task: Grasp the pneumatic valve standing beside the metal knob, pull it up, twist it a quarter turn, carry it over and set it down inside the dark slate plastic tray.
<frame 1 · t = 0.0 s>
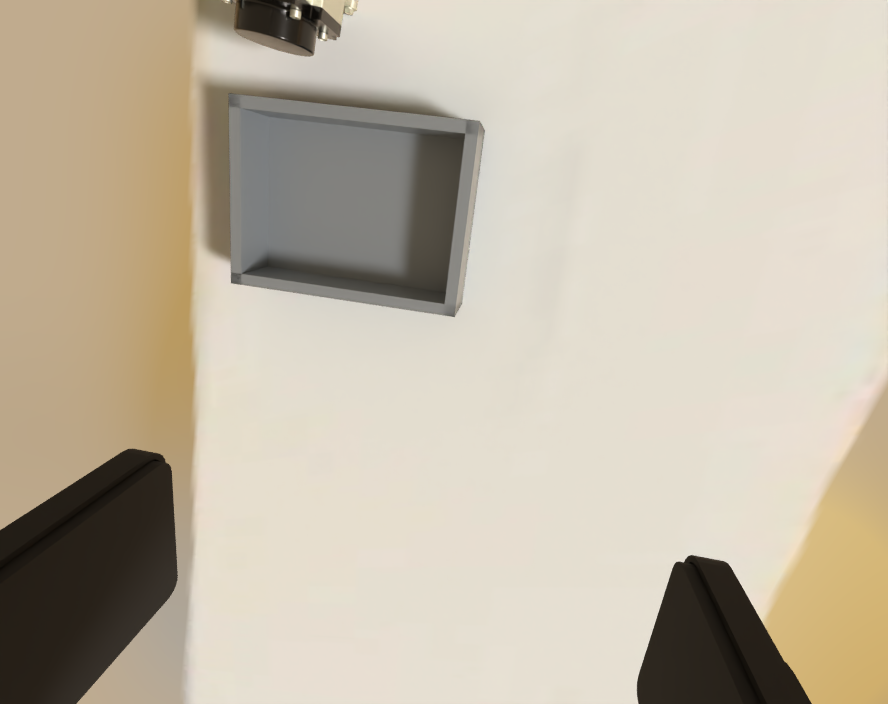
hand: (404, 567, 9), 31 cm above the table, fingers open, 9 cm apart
tray: (365, 207, 38), on the table
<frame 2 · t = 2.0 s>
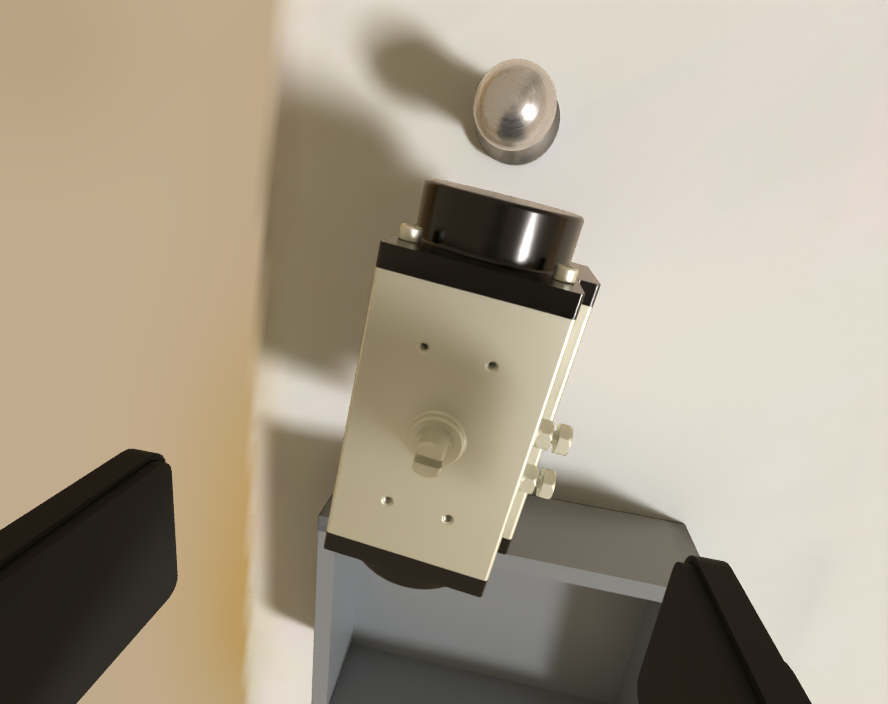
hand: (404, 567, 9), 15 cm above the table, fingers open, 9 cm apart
pneumatic valve: (487, 325, 23), on the table
metal knob: (517, 122, 20), on the table
tray: (494, 589, 27), on the table
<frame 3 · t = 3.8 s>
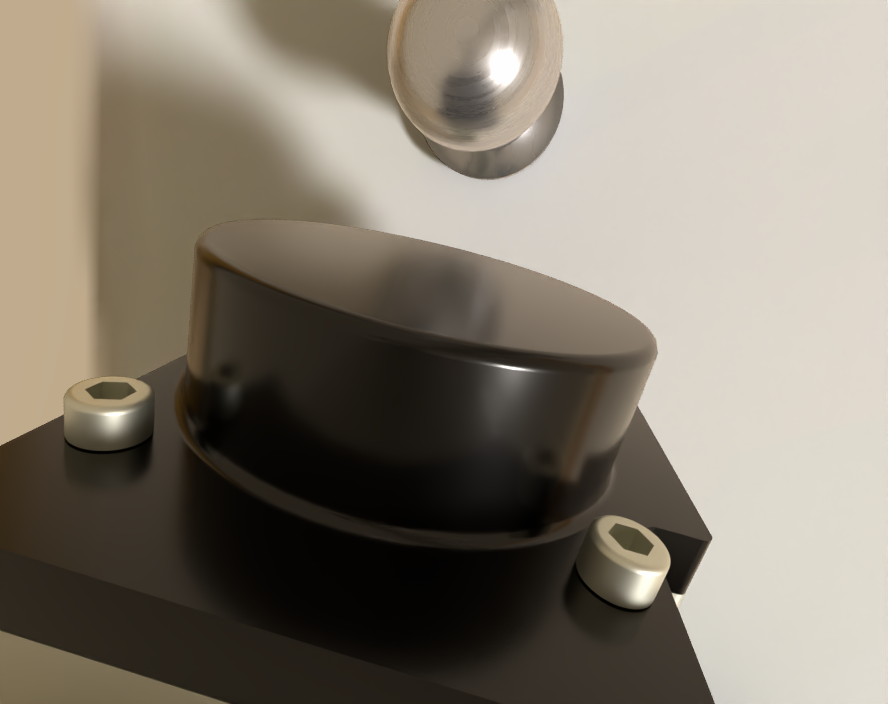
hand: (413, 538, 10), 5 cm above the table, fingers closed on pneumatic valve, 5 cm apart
pneumatic valve: (447, 432, 14), on the table, touching gripper
metal knob: (490, 106, 12), on the table
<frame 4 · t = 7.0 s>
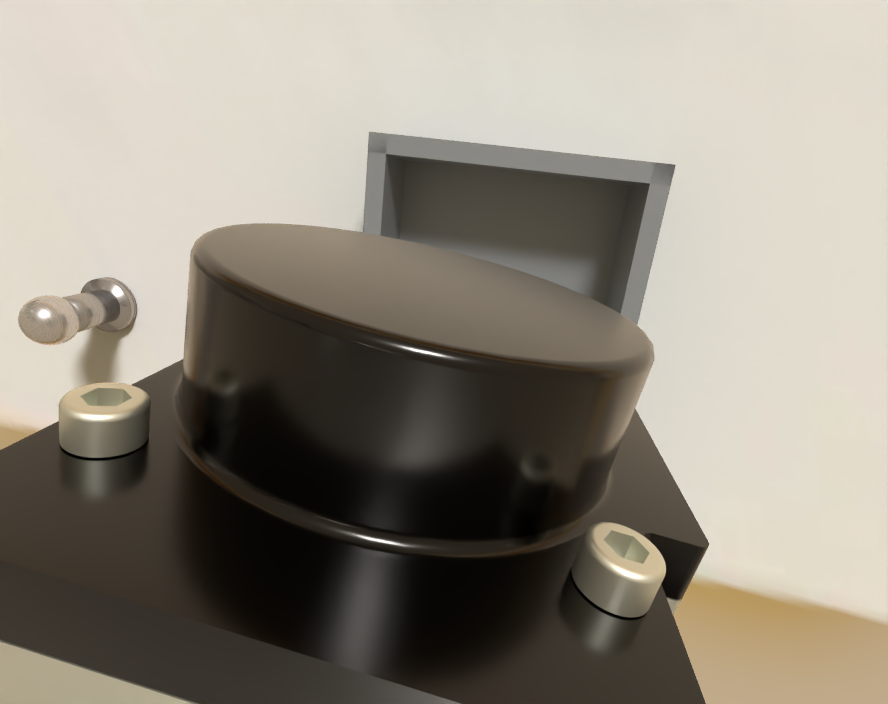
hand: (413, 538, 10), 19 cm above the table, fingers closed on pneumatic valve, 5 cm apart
pneumatic valve: (446, 433, 14), point 14 cm above the table, touching gripper
metal knob: (112, 303, 31), on the table
tray: (494, 317, 28), on the table
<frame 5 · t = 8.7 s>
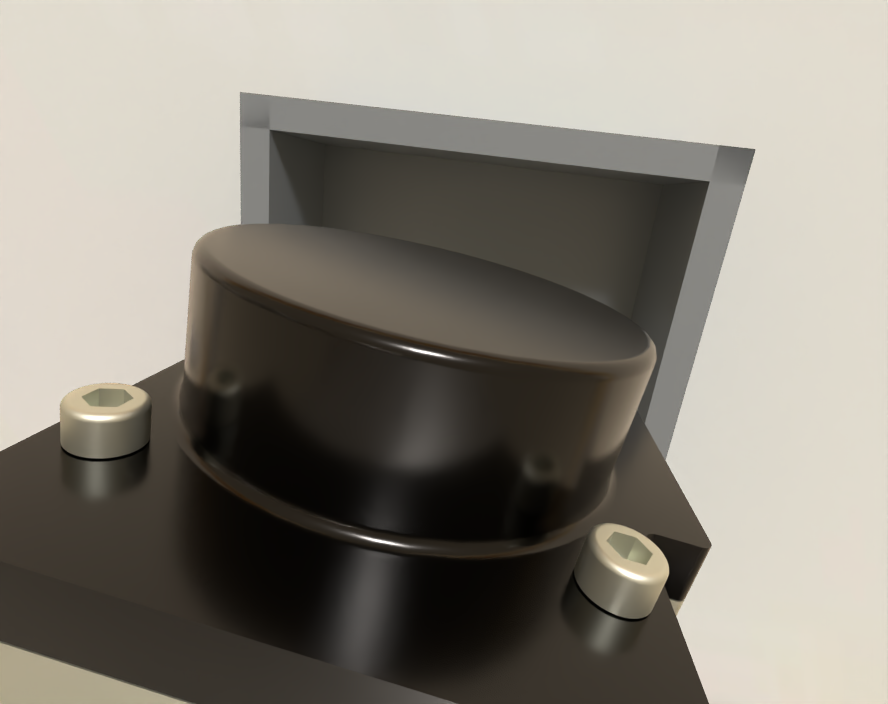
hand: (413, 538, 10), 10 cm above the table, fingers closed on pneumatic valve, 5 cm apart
pneumatic valve: (447, 433, 14), point 5 cm above the table, touching gripper
tray: (461, 373, 19), on the table
when the fingers open (6 cm above the table, at t = 10.2 s): pneumatic valve drops 1 cm, resting on tray.
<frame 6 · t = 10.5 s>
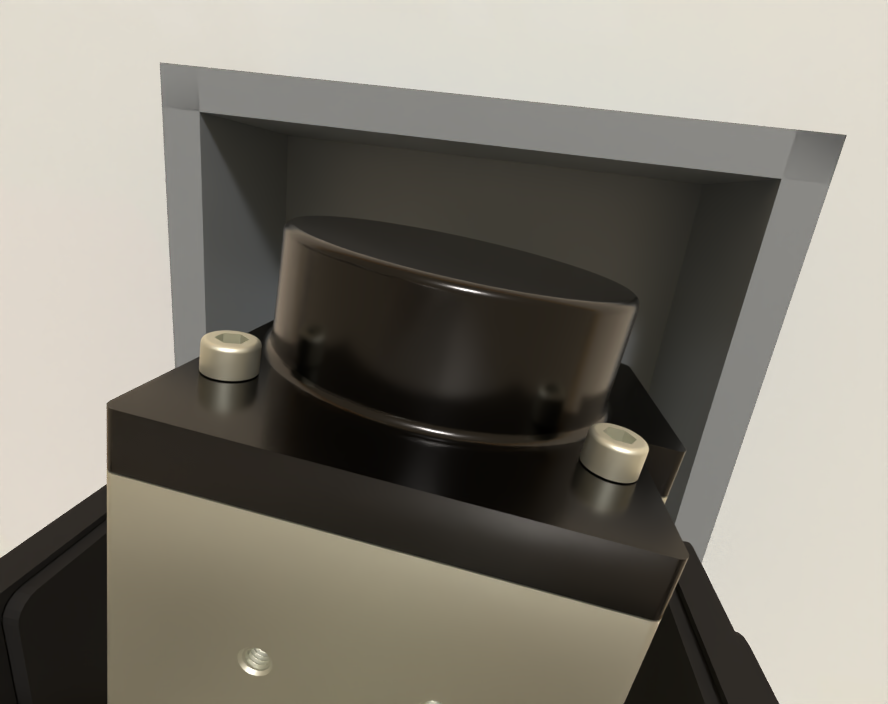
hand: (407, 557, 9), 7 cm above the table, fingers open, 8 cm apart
pneumatic valve: (461, 415, 16), resting on tray
tray: (454, 409, 16), on the table
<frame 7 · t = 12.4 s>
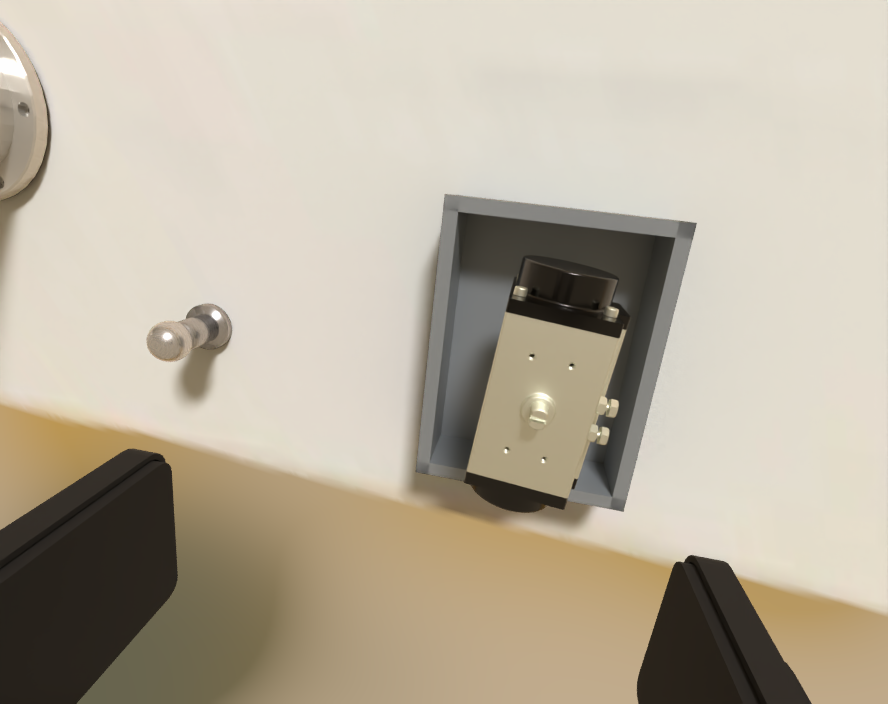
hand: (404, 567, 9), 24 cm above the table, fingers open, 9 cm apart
pneumatic valve: (543, 343, 32), resting on tray
metal knob: (211, 325, 36), on the table
tray: (538, 340, 32), on the table
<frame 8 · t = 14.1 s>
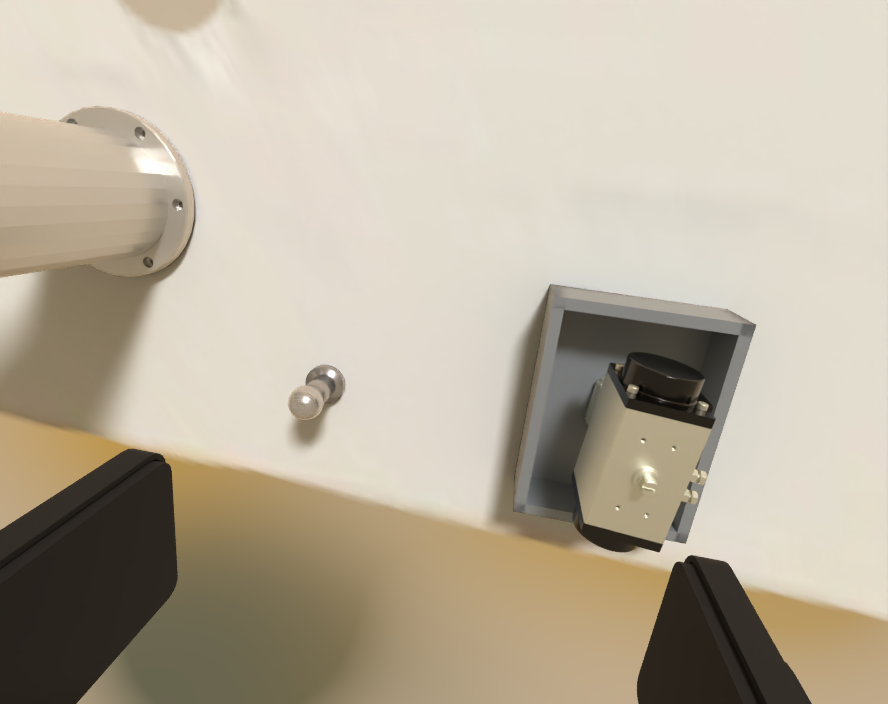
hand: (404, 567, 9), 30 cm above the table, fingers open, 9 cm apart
pneumatic valve: (616, 403, 39), resting on tray
metal knob: (326, 382, 42), on the table
tray: (612, 401, 39), on the table
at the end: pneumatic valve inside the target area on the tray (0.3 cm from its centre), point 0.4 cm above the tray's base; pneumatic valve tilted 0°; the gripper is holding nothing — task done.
